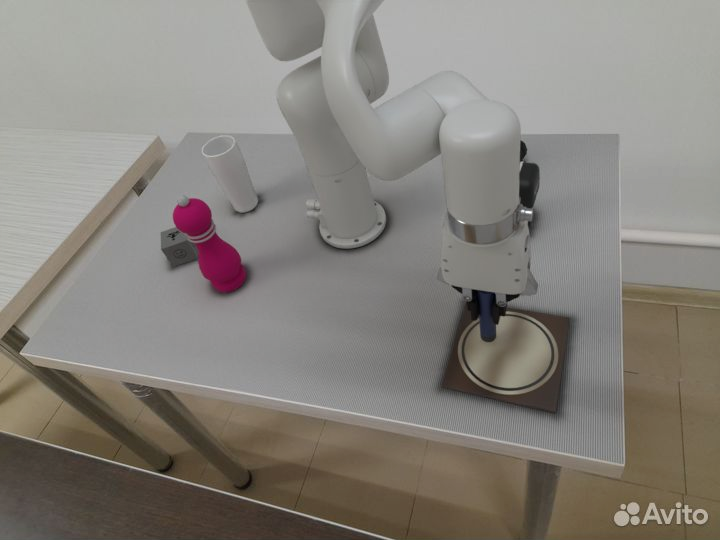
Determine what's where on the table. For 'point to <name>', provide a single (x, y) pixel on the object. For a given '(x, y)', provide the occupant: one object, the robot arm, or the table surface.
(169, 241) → the grey toy cube
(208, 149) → the drinking glass
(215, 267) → the pepper mill
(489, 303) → the cylinder
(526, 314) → the brown square board
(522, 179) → the battery charger
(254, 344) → the table surface
